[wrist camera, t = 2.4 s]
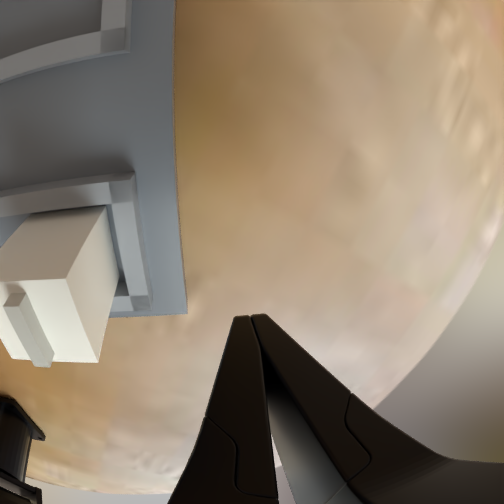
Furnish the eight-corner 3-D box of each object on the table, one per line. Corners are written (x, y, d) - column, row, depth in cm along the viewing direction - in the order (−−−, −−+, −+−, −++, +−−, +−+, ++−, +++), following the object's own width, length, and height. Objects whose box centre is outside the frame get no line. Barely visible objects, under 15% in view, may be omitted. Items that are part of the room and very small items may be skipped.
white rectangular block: (119, 276, 13) (95, 377, 8) (49, 279, 12) (7, 371, 8) (105, 205, 11) (58, 292, 6) (30, 214, 10) (-37, 294, 6)
